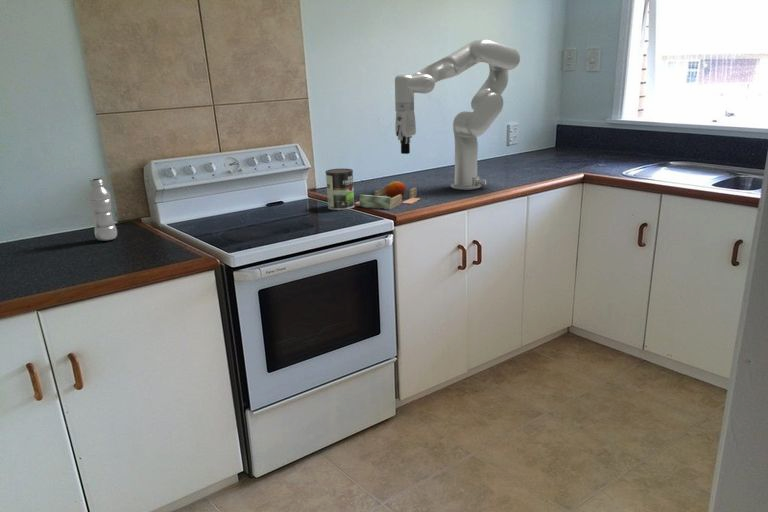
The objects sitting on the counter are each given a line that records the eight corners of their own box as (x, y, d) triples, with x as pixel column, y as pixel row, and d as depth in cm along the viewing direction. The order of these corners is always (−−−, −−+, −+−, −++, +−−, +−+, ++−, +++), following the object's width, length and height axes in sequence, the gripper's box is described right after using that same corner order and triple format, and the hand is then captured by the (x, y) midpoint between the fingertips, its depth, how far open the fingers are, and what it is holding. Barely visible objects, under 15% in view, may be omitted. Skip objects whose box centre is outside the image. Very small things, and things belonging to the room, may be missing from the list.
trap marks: (420, 199, 233) (420, 198, 232) (403, 208, 219) (403, 207, 219) (374, 195, 242) (374, 194, 242) (354, 204, 229) (354, 203, 229)
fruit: (394, 198, 229) (388, 179, 231) (386, 205, 236) (381, 187, 238) (412, 195, 233) (406, 177, 234) (403, 202, 240) (398, 184, 241)
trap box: (416, 196, 239) (416, 185, 237) (390, 209, 218) (389, 197, 217) (388, 193, 244) (388, 183, 243) (359, 206, 224) (359, 195, 223)
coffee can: (359, 205, 226) (358, 169, 222) (344, 211, 218) (342, 173, 214) (338, 203, 232) (336, 167, 227) (322, 208, 223) (319, 171, 219)
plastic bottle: (100, 237, 195) (89, 178, 188) (121, 236, 195) (110, 177, 189) (93, 243, 188) (80, 181, 182) (114, 242, 189) (103, 180, 183)
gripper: (405, 108, 226) (405, 156, 232) (421, 106, 239) (421, 151, 244) (387, 108, 229) (388, 155, 235) (404, 105, 242) (405, 150, 248)
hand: (405, 153), depth 240 cm, fingers closed
